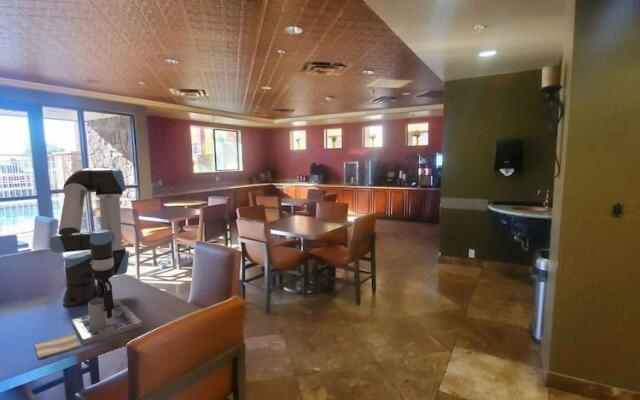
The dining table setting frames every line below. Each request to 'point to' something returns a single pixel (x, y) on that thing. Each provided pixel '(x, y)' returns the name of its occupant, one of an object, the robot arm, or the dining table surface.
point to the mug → (100, 314)
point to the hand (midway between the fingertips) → (106, 320)
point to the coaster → (57, 346)
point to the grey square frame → (103, 333)
